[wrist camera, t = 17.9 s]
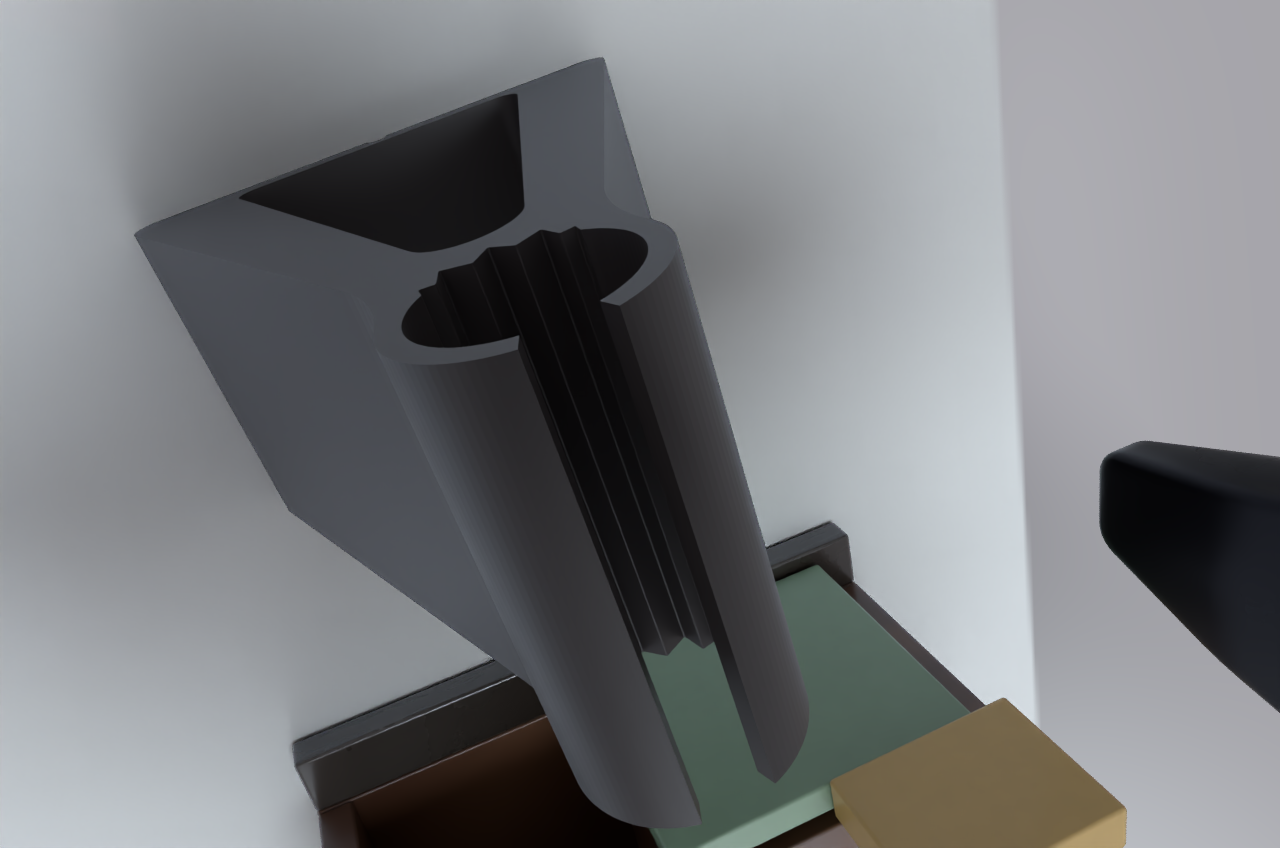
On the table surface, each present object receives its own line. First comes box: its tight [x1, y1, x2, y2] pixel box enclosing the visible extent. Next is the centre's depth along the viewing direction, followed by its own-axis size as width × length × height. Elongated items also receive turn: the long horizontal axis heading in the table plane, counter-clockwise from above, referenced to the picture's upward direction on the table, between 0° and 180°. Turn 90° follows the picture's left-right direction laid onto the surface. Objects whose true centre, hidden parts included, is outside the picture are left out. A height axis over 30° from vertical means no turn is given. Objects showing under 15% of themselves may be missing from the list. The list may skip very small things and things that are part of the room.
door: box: [642, 565, 1127, 848], centre depth 21 cm, size 7×1×9 cm, turn 104°
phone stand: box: [134, 58, 809, 829], centre depth 15 cm, size 9×6×12 cm, turn 108°
